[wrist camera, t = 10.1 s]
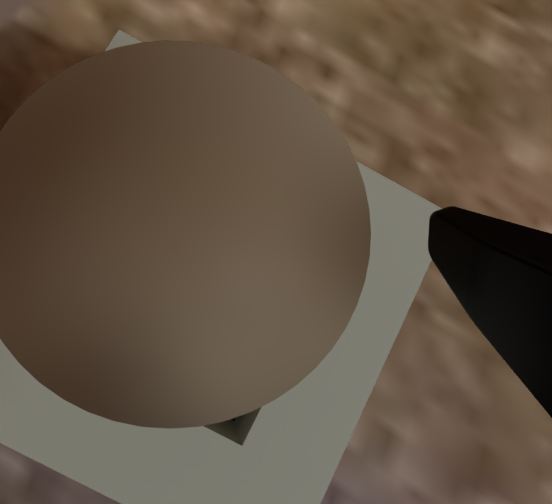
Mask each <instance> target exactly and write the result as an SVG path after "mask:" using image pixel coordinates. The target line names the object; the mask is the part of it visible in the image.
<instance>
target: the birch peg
mask: <svg viewBox="0 0 552 504" xmlns="http://www.w3.org/2000/svg"><path fill="white" fill-rule="evenodd" d="M370 242H371V225H370V211H369V205H368V200H367V195H366V190H365V185H364V182H363V179H362V176H361V173H360V170H359V167H358V164H357V162H356V160H355V158H354V156H353V154H352V152H351V149H350V147H349V145H348V143H347V141H346V140H345V138H344V137H343V135H342V134H341V132H340V130H339V129H338V127H337V126H336V124H335V123H334V121H333V120H332V119H331V118H330V117H329V115H328V114H327V113H326V112H325V111H324V109H323V108H322V107H321V106H320V105H319V103H318V102H316V101H315V100H314V99H313V98H312V97H311V96H310V95H309V94H308V93H307V92H306V91H305V90H304V89H303V88H302V87H300V86H299V85H298V84H296V83H295V82H293V81H292V80H291V79H289V78H288V77H287V76H285V75H284V74H282V73H281V72H279V71H277V70H276V69H274V68H272V67H270V66H268V65H267V64H265V63H263V62H261V61H259V60H257V59H254V58H252V57H250V56H247V55H245V54H242V53H240V52H237V51H234V50H230V49H226V48H223V47H219V46H216V45H210V44H204V43H198V42H191V41H166V40H165V41H153V42H141V43H136V44H131V45H126V46H122V47H117V48H113V49H110V50H108V51H105V52H102V53H99V54H96V55H93V56H90V57H88V58H86V59H84V60H82V61H80V62H78V63H76V64H74V65H72V66H70V67H68V68H66V69H65V70H63V71H62V72H60V73H59V74H57V75H56V76H54V77H53V78H51V79H49V80H48V81H47V82H45V83H44V84H43V85H42V86H41V87H40V88H38V89H37V90H36V91H35V92H34V93H33V94H31V95H30V96H29V97H28V98H27V99H26V100H25V101H24V102H23V103H22V104H21V106H20V107H19V108H18V109H17V110H16V111H15V112H14V113H13V114H12V115H11V117H10V118H9V119H8V121H7V122H6V124H5V125H4V127H3V128H2V130H1V131H0V339H1V341H2V342H3V344H4V345H5V346H6V347H7V349H8V350H9V351H10V352H11V354H12V355H13V356H14V357H15V359H16V360H17V361H18V362H19V364H20V365H21V366H22V367H23V368H25V369H26V370H27V371H28V372H29V373H30V374H31V375H32V376H33V377H34V378H35V379H36V380H37V381H38V382H39V383H41V384H42V385H43V386H45V387H46V388H48V389H49V390H51V391H52V392H53V393H55V394H56V395H58V396H59V397H61V398H62V399H64V400H65V401H67V402H69V403H71V404H73V405H75V406H77V407H79V408H81V409H83V410H85V411H87V412H89V413H92V414H95V415H98V416H101V417H104V418H106V419H109V420H112V421H115V422H120V423H125V424H130V425H135V426H140V427H151V428H166V429H173V428H188V427H199V426H204V425H209V424H214V423H219V422H224V421H227V420H230V419H233V418H236V417H238V416H241V415H244V414H247V413H250V412H252V411H254V410H256V409H258V408H260V407H262V406H264V405H266V404H268V403H270V402H272V401H274V400H275V399H277V398H278V397H280V396H281V395H283V394H284V393H286V392H287V391H289V390H290V389H292V388H293V387H295V386H296V385H297V384H298V383H299V382H301V381H302V380H303V379H304V378H305V377H306V376H307V375H308V374H310V373H311V372H312V371H313V370H314V369H315V368H316V367H317V366H318V365H319V364H320V362H321V361H322V360H323V359H324V358H325V357H326V355H327V354H328V353H329V352H330V351H331V350H332V349H333V347H334V345H335V344H336V342H337V341H338V339H339V338H340V336H341V335H342V333H343V332H344V330H345V329H346V327H347V325H348V323H349V321H350V319H351V317H352V315H353V313H354V311H355V308H356V306H357V304H358V301H359V298H360V295H361V292H362V289H363V286H364V283H365V279H366V274H367V268H368V263H369V258H370Z"/></svg>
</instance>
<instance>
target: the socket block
mask: <svg viewBox="0 0 552 504" xmlns="http://www.w3.org/2000/svg"><path fill="white" fill-rule="evenodd" d="M136 43H141V41H139V40H137V39H135V38H133V37H132V36H130V35H128V34H126V33H124V32H123V31H121V30H119V31H118V32H117V34H116V35H115V37H114V38H113V40H112V41H111V43H110V44H109V46H108V47H107V49H106V50H105V51H108V50H110V49H113V48H117V47H122V46H126V45H131V44H136ZM356 162H357V161H356ZM357 164H358V167H359V170H360V173H361V176H362V179H363V182H364V185H365V190H366V195H367V200H368V205H369V211H370V225H371V242H370V258H369V263H368V268H367V274H366V279H365V283H364V286H363V289H362V292H361V295H360V298H359V301H358V304H357V306H356V308H355V311H354V313H353V315H352V317H351V319H350V321H349V323H348V325H347V327H346V329H345V330H344V332H343V333H342V335H341V336H340V338H339V339H338V341H337V342H336V344H335V345H334V347H333V349H332V350H331V351H330V352H329V353H328V354H327V355H326V357H325V358H324V359H323V360H322V361H321V362H320V364H319V365H318V366H317V367H316V368H315V369H314V370H313V371H312V372H311V373H310V374H308V375H307V376H306V377H305V378H304V379H303V380H302V381H301V382H299V383H298V384H297V385H296V386H295V387H293V388H292V389H290V390H289V391H287V392H286V393H284V394H283V395H281V396H280V397H278V398H277V399H275V400H274V401H272V402H270V403H268V404H266V405H264V406H262V407H260V408H258V409H256V410H254V411H252V412H250V413H247V414H244V415H241V416H238V417H236V419H235V421H233V420H231V419H230V420H227V421H224V422H219V423H214V424H209V425H204V426H199V427H188V428H173V429H166V428H151V427H140V426H135V425H130V424H125V423H120V422H115V421H112V420H109V419H106V418H104V417H101V416H98V415H95V414H92V413H89V412H87V411H85V410H83V409H81V408H79V407H77V406H75V405H73V404H71V403H69V402H67V401H65V400H64V399H62V398H61V397H59V396H58V395H56V394H55V393H53V392H52V391H51V390H49V389H48V388H46V387H45V386H43V385H42V384H41V383H39V382H38V381H37V380H36V379H35V378H34V377H33V376H32V375H31V374H30V373H29V372H28V371H27V370H26V369H25V368H23V367H22V366H21V365H20V364H19V362H18V361H17V360H16V359H15V357H14V356H13V355H12V354H11V352H10V351H9V350H8V349H7V347H6V346H5V345H4V344H3V342H2V341H1V339H0V443H1V444H3V445H5V446H7V447H9V448H11V449H13V450H15V451H17V452H19V453H21V454H23V455H25V456H27V457H29V458H31V459H33V460H35V461H37V462H39V463H41V464H43V465H45V466H47V467H49V468H51V469H53V470H55V471H57V472H59V473H61V474H63V475H65V476H67V477H69V478H71V479H73V480H75V481H77V482H79V483H81V484H83V485H85V486H87V487H89V488H91V489H93V490H95V491H97V492H99V493H101V494H103V495H105V496H107V497H109V498H111V499H113V500H115V501H117V502H119V503H121V504H320V503H321V501H322V499H323V497H324V494H325V492H326V490H327V488H328V486H329V483H330V481H331V479H332V477H333V475H334V473H335V470H336V468H337V466H338V464H339V462H340V459H341V457H342V455H343V453H344V451H345V448H346V446H347V444H348V442H349V440H350V437H351V435H352V433H353V431H354V429H355V427H356V424H357V422H358V420H359V418H360V416H361V413H362V411H363V409H364V407H365V405H366V402H367V400H368V398H369V396H370V394H371V391H372V389H373V387H374V385H375V383H376V380H377V378H378V376H379V374H380V372H381V370H382V367H383V365H384V363H385V361H386V359H387V356H388V354H389V352H390V350H391V348H392V345H393V343H394V341H395V339H396V337H397V334H398V332H399V330H400V328H401V326H402V323H403V321H404V319H405V317H406V315H407V313H408V310H409V308H410V306H411V304H412V302H413V299H414V297H415V295H416V293H417V291H418V288H419V286H420V284H421V282H422V280H423V277H424V275H425V273H426V271H427V269H428V267H429V264H430V262H431V260H432V259H431V257H430V255H429V251H428V233H429V219H430V216H431V214H432V213H433V212H434V211H437V210H440V209H442V208H440V207H438V206H436V205H434V204H433V203H431V202H429V201H427V200H425V199H424V198H422V197H420V196H418V195H416V194H415V193H413V192H411V191H409V190H407V189H406V188H404V187H402V186H400V185H398V184H397V183H395V182H393V181H391V180H389V179H388V178H386V177H384V176H382V175H380V174H379V173H377V172H375V171H373V170H371V169H370V168H368V167H366V166H364V165H362V164H361V163H359V162H357Z"/></svg>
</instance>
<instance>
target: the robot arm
mask: <svg viewBox="0 0 552 504" xmlns="http://www.w3.org/2000/svg"><path fill="white" fill-rule="evenodd" d="M428 251H429V255H430V257H431V259H432V260H433V262H434V264H435V265H436V267H437V268H438V270H439V271H440V273H441V274H442V276H443V277H444V279H445V280H446V282H447V284H448V285H449V287H450V288H451V290H452V291H453V293H454V294H455V296H456V297H457V299H458V300H459V302H460V304H461V305H462V307H463V308H464V310H465V311H466V313H467V314H468V315H469V317H470V318H471V320H472V321H473V322H474V324H475V325H476V326H477V327H478V329H479V330H480V331H481V332H482V334H483V335H484V336H485V337H486V338H487V340H488V341H489V342H490V343H491V344H492V346H493V347H494V348H495V349H496V351H497V352H498V353H499V354H500V355H501V357H502V358H503V359H504V360H505V361H506V363H507V364H508V365H509V366H510V368H511V369H512V370H513V371H514V372H515V374H516V375H517V376H518V377H519V379H520V380H521V381H522V382H523V383H524V385H525V386H526V387H527V388H528V389H529V391H530V392H531V393H532V394H533V396H534V397H535V398H536V399H537V400H538V402H539V403H540V404H541V405H542V406H543V408H544V409H545V410H546V411H547V413H548V414H549V415H550V416H551V417H552V234H550V233H547V232H543V231H540V230H536V229H533V228H529V227H525V226H522V225H518V224H515V223H511V222H508V221H504V220H500V219H497V218H493V217H490V216H486V215H483V214H479V213H475V212H472V211H468V210H465V209H461V208H458V207H454V206H450V207H446V208H443V209H440V210H437V211H434V212H433V213H432V214H431V216H430V219H429V233H428Z"/></svg>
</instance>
